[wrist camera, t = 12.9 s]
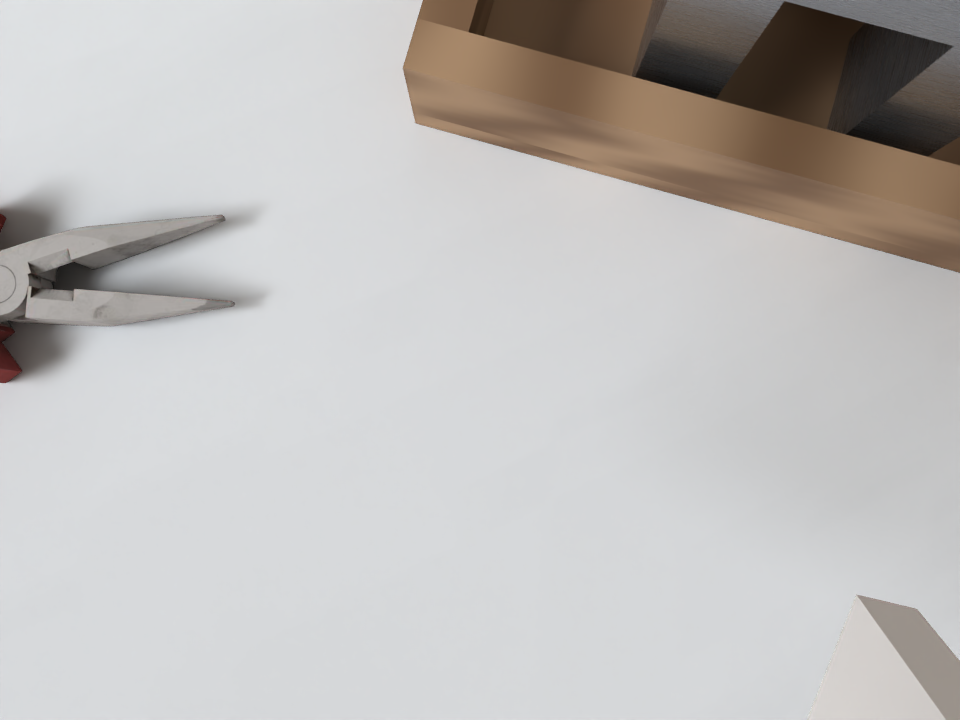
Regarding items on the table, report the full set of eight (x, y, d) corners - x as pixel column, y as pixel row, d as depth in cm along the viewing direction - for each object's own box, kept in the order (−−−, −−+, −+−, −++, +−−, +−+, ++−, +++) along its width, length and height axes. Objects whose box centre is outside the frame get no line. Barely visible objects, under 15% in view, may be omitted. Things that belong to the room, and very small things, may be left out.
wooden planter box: (415, 123, 29) (403, 67, 25) (484, -111, 30) (484, -207, 25) (1059, 300, 29) (1166, 276, 24) (1116, 57, 29) (1231, -9, 25)
